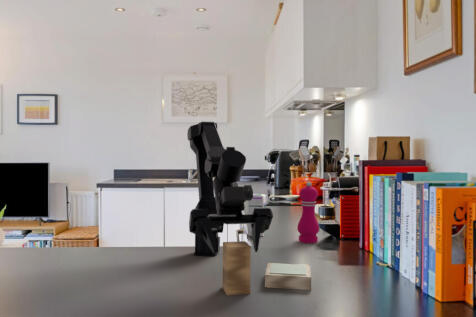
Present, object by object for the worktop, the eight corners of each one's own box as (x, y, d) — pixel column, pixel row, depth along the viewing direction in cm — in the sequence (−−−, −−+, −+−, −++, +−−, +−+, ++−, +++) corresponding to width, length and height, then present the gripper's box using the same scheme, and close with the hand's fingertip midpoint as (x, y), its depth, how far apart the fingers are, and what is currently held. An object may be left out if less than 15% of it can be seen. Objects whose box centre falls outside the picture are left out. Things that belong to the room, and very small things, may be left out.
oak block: (226, 295, 87) (227, 247, 87) (222, 287, 92) (222, 242, 92) (250, 293, 88) (250, 246, 88) (244, 286, 93) (245, 241, 93)
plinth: (264, 287, 92) (265, 273, 92) (267, 274, 102) (267, 262, 102) (311, 289, 91) (311, 276, 91) (309, 276, 101) (309, 263, 101)
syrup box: (263, 236, 147) (264, 195, 147) (247, 235, 148) (247, 195, 148) (265, 233, 153) (266, 193, 153) (249, 232, 154) (250, 193, 154)
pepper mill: (320, 240, 143) (321, 181, 142) (317, 244, 136) (318, 182, 135) (299, 238, 145) (300, 180, 145) (295, 242, 138) (296, 182, 138)
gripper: (190, 173, 93) (196, 231, 83) (271, 173, 97) (286, 228, 87) (187, 204, 101) (191, 261, 90) (261, 203, 105) (274, 257, 94)
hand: (236, 251), depth 90 cm, fingers open, 9 cm apart
